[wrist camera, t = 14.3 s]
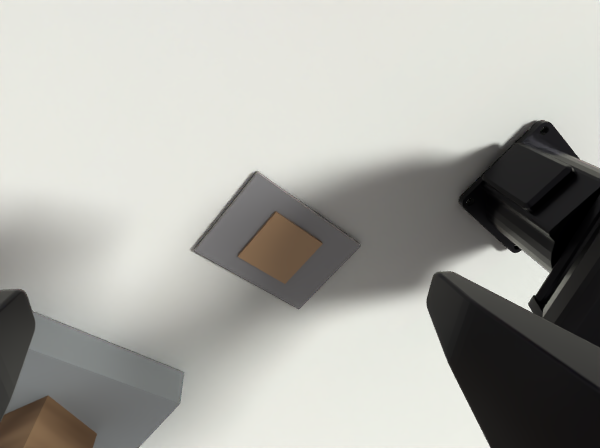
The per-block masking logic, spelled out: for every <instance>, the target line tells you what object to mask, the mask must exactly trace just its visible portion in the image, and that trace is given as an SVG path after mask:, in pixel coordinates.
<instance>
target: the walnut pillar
mask: <svg viewBox="0 0 600 448" xmlns="http://www.w3.org/2000/svg"><path fill="white" fill-rule="evenodd" d="M96 436H97V433H95V432H94V431H93V430H92V429H90V428H89V427H88V426H87V425H85V424H84V423H83V422H82V421H80V420H79V419H78V418H76V417H75V416H74V415H73V414H71V413H70V412H69V411H68V410H66V409H65V408H64V407H63V406H61V405H60V404H59V403H57V402H56V401H55V400H54V399H52V398H51V397H50V396H49V395H48V396H45V397H43V398H41V399H39V400H36V401H34V402H32V403H30V404H27V405H25V406H23V407H20V408H18V409H16V410H14V411H11V412H9V413H7V414H5V415H4V416H3V418H2V420H1V422H0V448H93V446H94V442H95V439H96Z"/></svg>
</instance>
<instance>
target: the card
mask: <svg viewBox="0 0 600 448" xmlns="http://www.w3.org/2000/svg"><path fill="white" fill-rule="evenodd" d="M359 247H360V244H359V243H358V242H357V241H355V240H354V239H352V238H351V237H350V236H348V235H347V234H345V233H344V232H342V231H341V230H340V229H338V228H337V227H335V226H334V225H333V224H331V223H330V222H328V221H327V220H326V219H324V218H323V217H321V216H320V215H319V214H317V213H316V212H314V211H313V210H311V209H310V208H309V207H307V206H306V205H304V204H303V203H302V202H300V201H299V200H297V199H296V198H295V197H293V196H292V195H290V194H289V193H287V192H286V191H285V190H283V189H282V188H280V187H279V186H278V185H276V184H275V183H273V182H272V181H271V180H269V179H268V178H266V177H265V176H263V175H262V174H261V173H259V172H258V171H257V172H256V173H255V175H254V176H253V177H252V178H251V179H250V181H249V182H248V183H247V184H246V186H245V187H244V188H243V189H242V191H241V192H240V193H239V194H238V196H237V197H236V198H235V199H234V201H233V202H232V203H231V204H230V205H229V207H228V208H227V209H226V210H225V212H224V213H223V214H222V215H221V217H220V218H219V219H218V220H217V222H216V223H215V224H214V225H213V227H212V228H211V229H210V230H209V231H208V233H207V234H206V235H205V236H204V238H203V239H202V240H201V241H200V243H199V244H198V245H197V246H196V248H195V250H194V251H195V252H197V253H198V254H200V255H202V256H204V257H206V258H207V259H209V260H211V261H213V262H215V263H216V264H218V265H220V266H222V267H224V268H225V269H227V270H229V271H231V272H233V273H234V274H236V275H238V276H240V277H242V278H243V279H245V280H247V281H249V282H251V283H252V284H254V285H256V286H258V287H260V288H261V289H263V290H265V291H267V292H269V293H270V294H272V295H274V296H276V297H278V298H279V299H281V300H283V301H285V302H287V303H288V304H290V305H292V306H294V307H296V308H297V309H300V308H301V307H302V306H303V304H304V303H305V302H306V301H307V300H308V299H309V298H310V297H311V296H312V295H313V294H314V293H315V292H316V291H317V290H318V289H319V288H320V287H321V286H322V285H323V284H324V283H325V282H326V281H327V280H328V279H329V278H330V277H331V276H332V275H333V274H334V273H335V272H336V271H337V270H338V269H339V268H340V267H341V266H342V265H343V264H344V262H345V261H346V260H347V259H348V258H349V257H350V256H351V255H352V254H353V253H354V252H355V251H356V250H357V249H358V248H359Z"/></svg>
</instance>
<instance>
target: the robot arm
mask: <svg viewBox="0 0 600 448" xmlns="http://www.w3.org/2000/svg"><path fill="white" fill-rule="evenodd" d="M543 127H544V129H543V131H542V132H541V133H540V131H541V129H542V128H543ZM470 198H471V199H470ZM468 199H470V201H469V202H468V203H466V201H467V200H468ZM459 204H460V205H461V206H462V207H463V208H464V209H465V210H466V211H467V212H468V213H469V214H471V215H472V216H473V217H474V218H475V219H476V220H477V221H478V222H479V223H480V224H482V225H483V226H484V227H485V228H486V229H487V230H488V231H489V232H490V233H491V234H493V235H494V236H495V237H496V238H497V239H498V240H499V241H500V242H501V243H502V244H504V245H505V246H506V247H507V248H508V249H509V250H510V251H511V252H513V253H517V252H520V251H521V250H523V251H524V252H525V253H526V254H528V255H529V256H530V257H531V258H532V259H534V260H535V261H536V262H537V263H538V264H540V265H541V266H542V267H543V268H544V269H546V270H547V271H548V272H549V273H550V274H549V275H548V277H547V278H546V280H545V281H544V283H543V285H542V286H541V288H540V289H539V291H538V293H537V294H536V295H533V297H532V298H531V300H530V301H529V303H528V305H529V307H530V309H531V310H532V312H533V313H532V312H530V311H528V310H526V309H524V308H522V307H520V306H518V305H516V304H514V303H513V302H511V301H509V300H507V299H505V298H503V297H501V296H499V295H497V294H495V293H493V292H491V291H489V290H487V289H485V288H483V287H482V286H480V285H478V284H476V283H474V282H472V281H470V280H468V279H466V278H464V277H462V276H460V275H458V274H456V273H454V272H451V271H447V272H437V273H435V274H434V275H433V278H432V281H431V285H430V289H429V292H428V296H427V308H428V311H429V314H430V317H431V319H432V322H433V325H434V327H435V330H436V333H437V335H438V338H439V341H440V343H441V346H442V348H443V351H444V354H445V356H446V359H447V361H448V363H449V366H450V368H451V370H452V372H453V374H454V376H455V378H456V380H457V382H458V384H459V386H460V388H461V390H462V392H463V394H464V396H465V398H466V400H467V402H468V404H469V406H470V408H471V410H472V412H473V414H474V416H475V418H476V420H477V422H478V424H479V426H480V428H481V430H482V432H483V434H484V436H485V438H486V440H487V442H488V443H489V445H490V447H491V448H600V168H598V167H596V166H594V165H591V164H589V163H587V162H584V161H582V160H580V159H579V158H578V156H577V155H576V154H575V153H574V151H573V150H572V149H571V148H570V146H569V145H568V144H567V142H566V141H565V140H564V139H563V137H562V136H561V135H560V134H559V132H558V131H557V130H556V129H555V127H554V126H553V125H552V124H551V123H550V122H548V121H545V120H541V121H538V122H537V123H535V124H534V125H533V126H532V127H531V128H530V129H529V130H528V131H527V132H526V133H525V134H524V135H523V136H522V137H521V138H520V139H519V140H518V141H517V142H516V143H515V144H514V145H513V146H512V147H511V148H510V149H509V150H508V151H506V152H505V153H504V154H503V155H502V156H501V157H500V158H499V159H498V160H497V161H496V162H495V163H494V164H493V165H492V166H491V167H490V168H489V169H488V170H487V171H486V172H485V173H484V174H483V175H482V176H481V177H480V178H479V179H478V180H477V181H476V182H475V183H474V184H473V185H472V186H471V187H470V188H469V189H467V190H466V191H465V192H464V193H463V194H462V195H461V197H460V199H459ZM515 245H516V246H515ZM35 325H36V323H35V318H34V315H33V312H32V309H31V306H30V303H29V300H28V297H27V294H26V293H25V291H23V290H21V289H7V290H0V422H1V420H2V418H3V416H4V414H5V412H6V409H7V407H8V405H9V403H10V400H11V398H12V395H13V393H14V390H15V387H16V384H17V381H18V378H19V375H20V373H21V370H22V367H23V364H24V361H25V358H26V355H27V352H28V349H29V346H30V343H31V340H32V338H33V335H34V332H35Z"/></svg>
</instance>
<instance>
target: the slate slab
mask: <svg viewBox="0 0 600 448" xmlns="http://www.w3.org/2000/svg"><path fill="white" fill-rule="evenodd" d="M32 312H33V311H32ZM33 315H34V318H35V323H36V325H35V332H34V335H33V338H32V340H31V343H30V346H29V349H28V352H27V355H26V358H25V361H24V364H23V367H22V370H21V373H20V375H19V378H18V381H17V384H16V387H15V390H14V393H13V395H12V398H11V400H10V403H9V405H8V407H7V409H6V412H5V414H7V413H9V412H11V411H14V410H16V409H18V408H20V407H23V406H25V405H27V404H30V403H32V402H34V401H36V400H39V399H41V398H43V397H45V396H48V395H49V396H50V397H51V398H52V399H54V400H55V401H56V402H57V403H59V404H60V405H61V406H63V407H64V408H65V409H66V410H68V411H69V412H70V413H71V414H73V415H74V416H75V417H76V418H78V419H79V420H80V421H82V422H83V423H84V424H85V425H87V426H88V427H89V428H90V429H92V430H93V431H94V432H95V433H97V436H96V439H95V442H94V446H93V448H139V447H140V446H141V444H142V443H143V442H144V441H145V440H146V439H147V438H148V437H149V436H150V435H151V434H152V433H153V432H154V431H155V430H156V429H157V428H158V426H159V425H160V424H161V423H162V422H163V421H164V420H165V419H166V418H167V417H168V416H169V415H170V414H171V413H172V412H173V411H174V410H175V408H176V407H177V406H178V405H179V404H180V401H181V393H182V385H183V377H184V372H182V371H179V370H177V369H174V368H172V367H169V366H167V365H164V364H162V363H159V362H157V361H154V360H152V359H150V358H147V357H145V356H142V355H140V354H137V353H135V352H132V351H130V350H127V349H125V348H122V347H120V346H117V345H115V344H112V343H110V342H107V341H105V340H102V339H100V338H97V337H95V336H92V335H90V334H87V333H85V332H82V331H80V330H77V329H75V328H72V327H70V326H67V325H65V324H62V323H60V322H57V321H55V320H52V319H50V318H47V317H45V316H42V315H40V314H38V313H35V312H33ZM5 414H4V415H5Z"/></svg>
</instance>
